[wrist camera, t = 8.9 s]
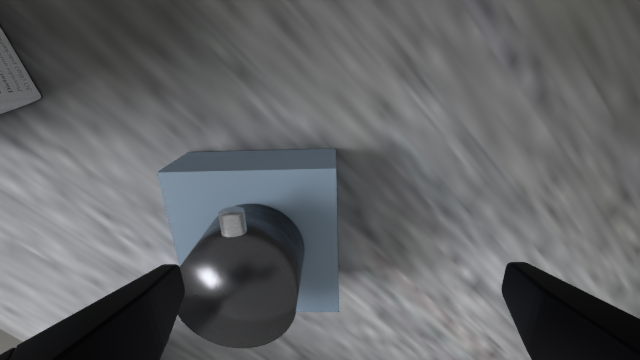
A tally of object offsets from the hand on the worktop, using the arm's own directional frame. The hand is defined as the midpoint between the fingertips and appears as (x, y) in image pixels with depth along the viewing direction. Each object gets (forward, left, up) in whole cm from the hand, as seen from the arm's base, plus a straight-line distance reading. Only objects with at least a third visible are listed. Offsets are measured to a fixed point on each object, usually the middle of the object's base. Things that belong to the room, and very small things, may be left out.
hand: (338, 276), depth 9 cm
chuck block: (-5, -5, -13) cm, 15 cm away
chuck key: (-5, -5, -12) cm, 14 cm away
